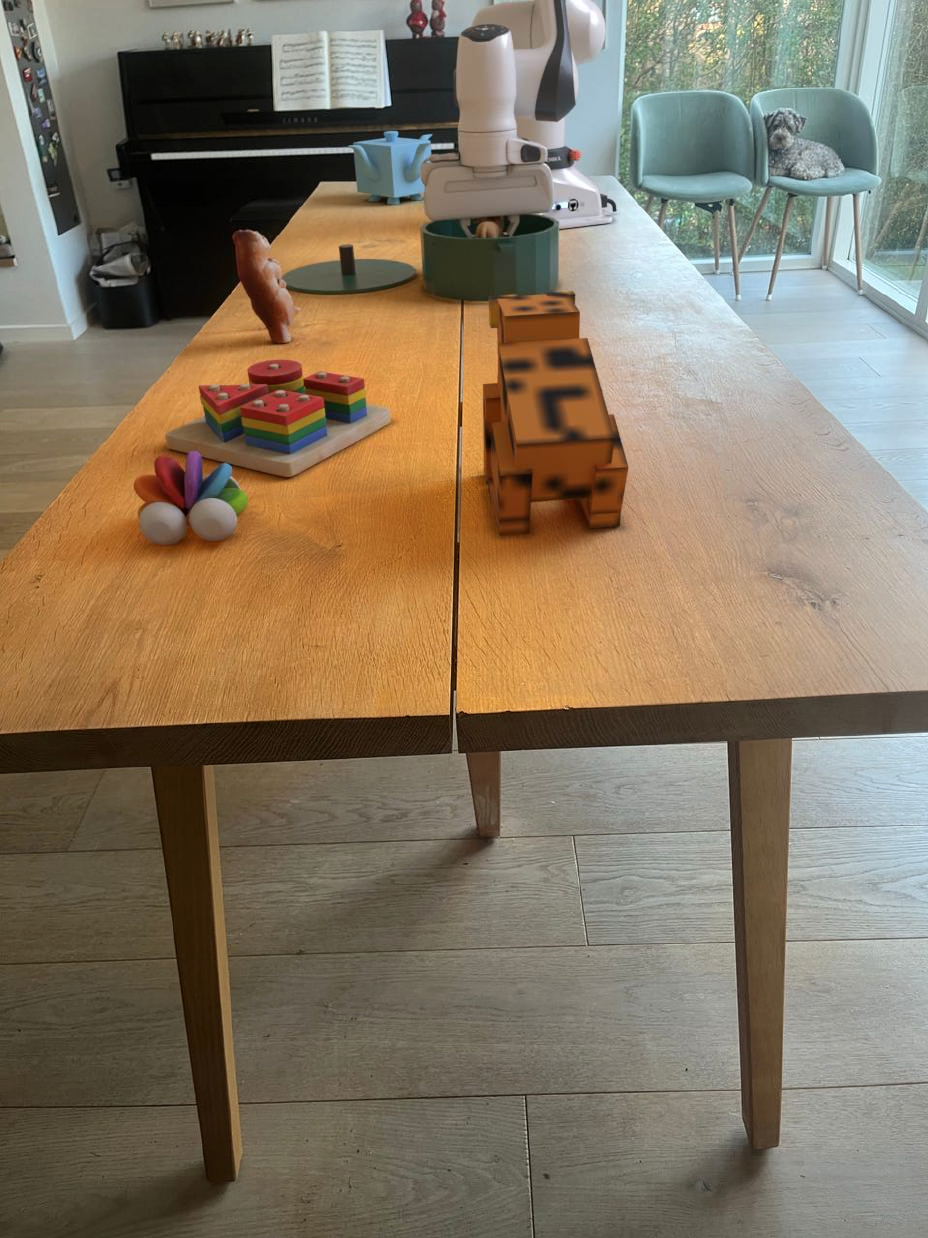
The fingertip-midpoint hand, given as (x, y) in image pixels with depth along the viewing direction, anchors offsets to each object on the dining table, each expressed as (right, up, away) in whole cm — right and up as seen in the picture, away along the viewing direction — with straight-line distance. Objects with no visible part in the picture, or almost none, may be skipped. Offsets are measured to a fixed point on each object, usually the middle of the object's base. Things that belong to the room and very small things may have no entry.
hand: (490, 246), depth 156 cm
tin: (0, -5, +3) cm, 6 cm away
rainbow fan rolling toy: (-28, -51, -68) cm, 89 cm away
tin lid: (-24, -1, +10) cm, 26 cm away
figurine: (-31, -20, -18) cm, 41 cm away
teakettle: (-20, +40, +78) cm, 90 cm away
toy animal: (+4, -48, -64) cm, 80 cm away
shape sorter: (-24, -39, -49) cm, 67 cm away
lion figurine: (-1, -2, +1) cm, 3 cm away
